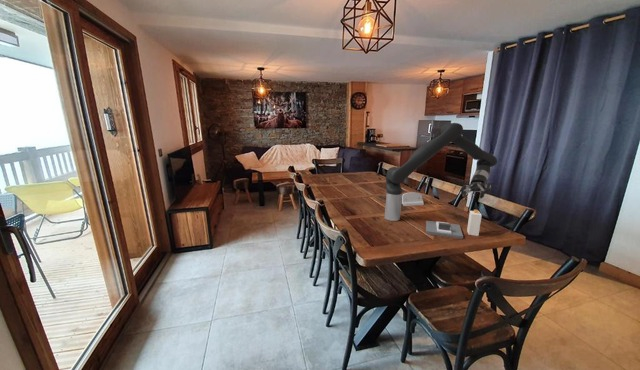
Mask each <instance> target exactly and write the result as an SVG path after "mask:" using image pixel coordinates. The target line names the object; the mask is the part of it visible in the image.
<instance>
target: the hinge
mask: <svg viewBox="0 0 640 370" xmlns="http://www.w3.org/2000/svg"><path fill="white" fill-rule="evenodd" d="M401 205H403V207H408V206H409V207H410V206H413V207H414V206H424V205H425V204H424V201H423V195H422V193H419V192H413V191H412V192H411V191H410V192H405V193H402V199H401Z"/></svg>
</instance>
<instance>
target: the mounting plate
mask: <svg viewBox="0 0 640 370" xmlns="http://www.w3.org/2000/svg"><path fill="white" fill-rule="evenodd" d="M439 222H440V223H446V222H444V221H433V220H432V221H431V220H426V221H425V234H427V235H433V236H434V235H435V236H441V237H447V238H454V239H462V240H463V239H464V235H463V232H462V228H461V225H460V224H454V223H450V222H447V223H448V224H450V230H443V229H439V228H438V226H439Z"/></svg>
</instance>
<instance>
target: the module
mask: <svg viewBox="0 0 640 370" xmlns="http://www.w3.org/2000/svg"><path fill="white" fill-rule="evenodd" d="M481 222H482V213H481V212H480V211H479V210H478V209H473V210H469V215H468V221H467V228H466V231H467V234H468V235H471V236H477V237H479V236H480V234H479V233H480V227H481Z"/></svg>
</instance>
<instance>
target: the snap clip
mask: <svg viewBox="0 0 640 370" xmlns="http://www.w3.org/2000/svg"><path fill="white" fill-rule="evenodd" d="M438 222H439V226H438V228H439V229H443V230H450V224H451V223H449V222H445V223H440V222H441V221H438ZM448 223H449V224H448Z"/></svg>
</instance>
